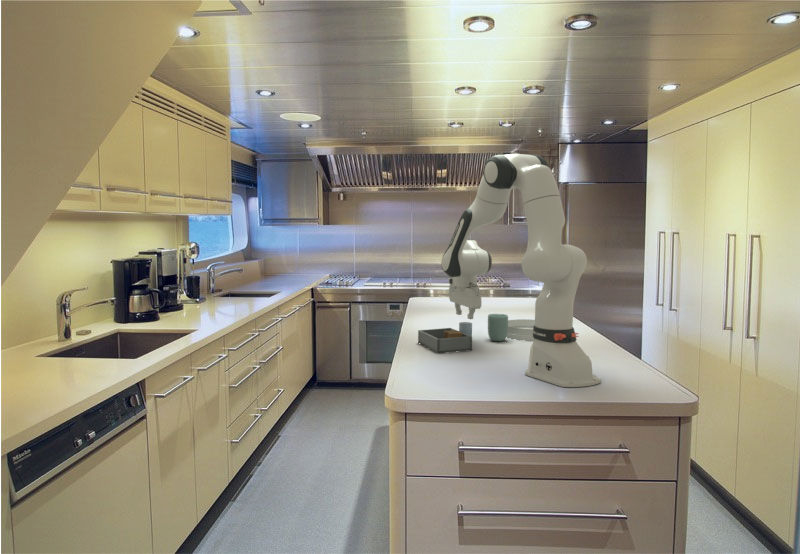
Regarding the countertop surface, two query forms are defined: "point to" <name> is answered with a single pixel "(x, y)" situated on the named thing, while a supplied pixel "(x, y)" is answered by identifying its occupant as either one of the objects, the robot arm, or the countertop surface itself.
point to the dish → (521, 329)
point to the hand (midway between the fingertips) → (464, 316)
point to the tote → (443, 341)
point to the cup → (497, 327)
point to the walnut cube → (452, 334)
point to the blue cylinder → (465, 328)
